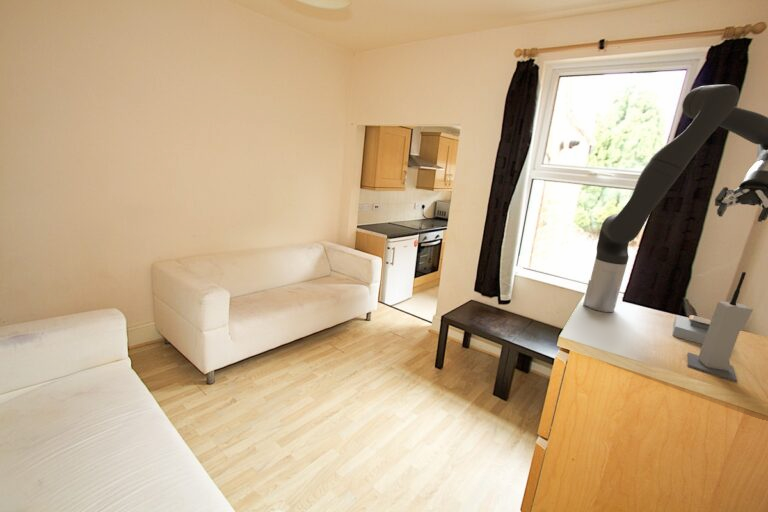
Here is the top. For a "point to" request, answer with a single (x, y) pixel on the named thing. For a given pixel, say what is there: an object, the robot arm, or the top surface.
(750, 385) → the top surface
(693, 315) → the block
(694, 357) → the rubber mat
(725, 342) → the vintage mobile phone
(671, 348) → the top surface
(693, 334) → the block
